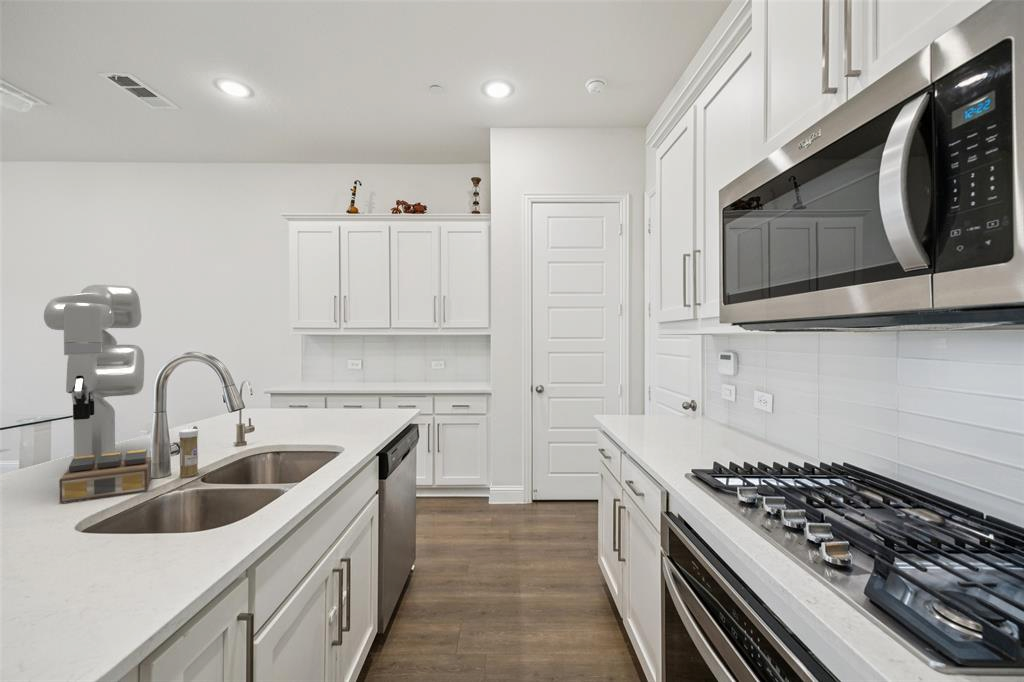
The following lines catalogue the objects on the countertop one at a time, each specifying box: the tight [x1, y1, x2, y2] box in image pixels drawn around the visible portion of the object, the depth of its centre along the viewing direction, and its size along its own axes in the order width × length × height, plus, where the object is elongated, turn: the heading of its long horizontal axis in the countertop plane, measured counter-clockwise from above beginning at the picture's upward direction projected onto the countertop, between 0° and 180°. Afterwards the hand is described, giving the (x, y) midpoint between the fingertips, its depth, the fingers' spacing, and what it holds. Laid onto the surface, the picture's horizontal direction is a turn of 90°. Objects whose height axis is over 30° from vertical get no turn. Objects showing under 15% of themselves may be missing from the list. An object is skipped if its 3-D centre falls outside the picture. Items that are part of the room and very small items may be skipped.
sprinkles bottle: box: [178, 428, 199, 478], centre depth 140 cm, size 5×5×14 cm
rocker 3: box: [123, 449, 148, 465], centre depth 131 cm, size 6×4×2 cm
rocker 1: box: [68, 455, 96, 472], centre depth 125 cm, size 6×4×2 cm
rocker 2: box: [97, 451, 123, 468], centre depth 128 cm, size 6×4×2 cm
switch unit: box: [58, 456, 152, 504], centre depth 127 cm, size 14×17×6 cm
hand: (84, 416), depth 127 cm, fingers open, 5 cm apart
